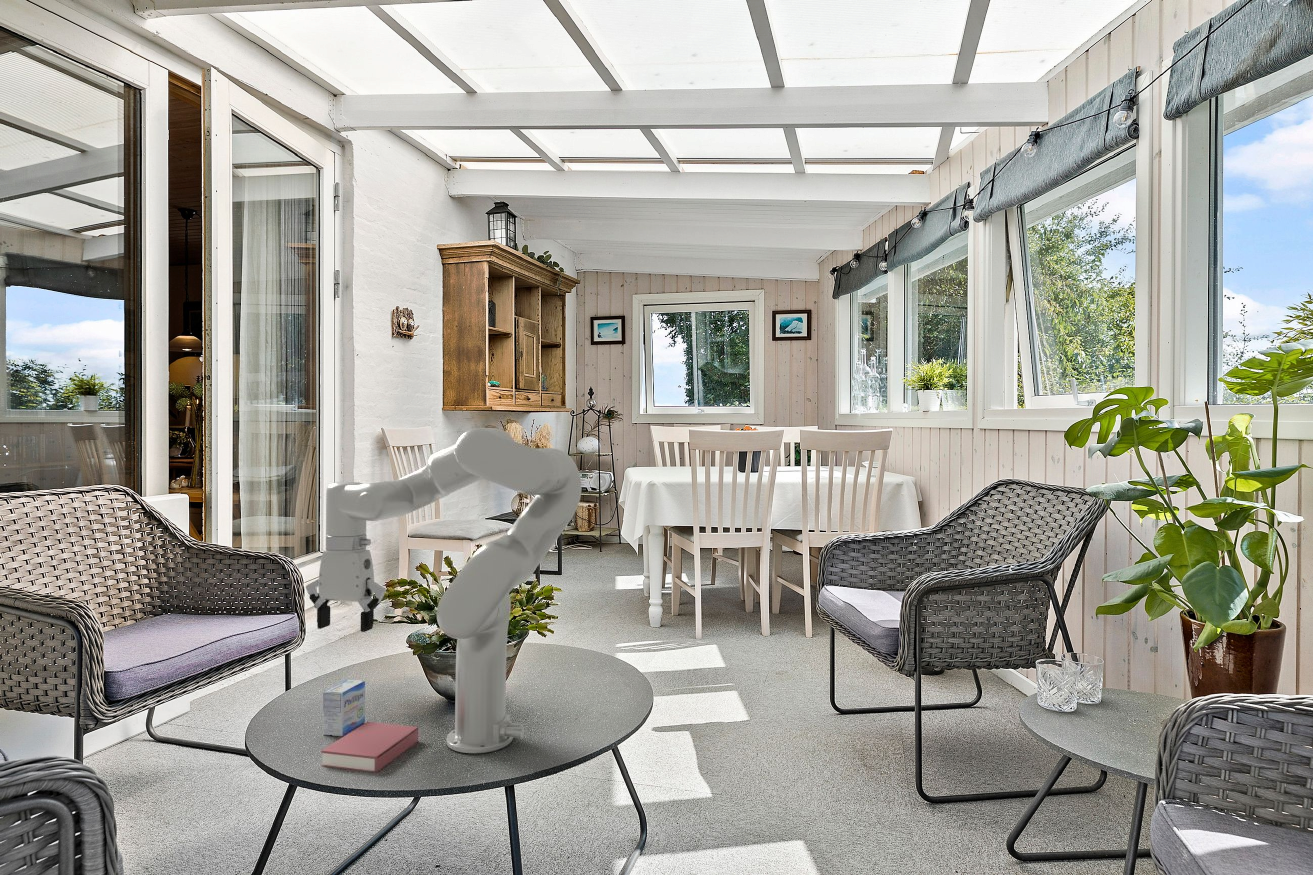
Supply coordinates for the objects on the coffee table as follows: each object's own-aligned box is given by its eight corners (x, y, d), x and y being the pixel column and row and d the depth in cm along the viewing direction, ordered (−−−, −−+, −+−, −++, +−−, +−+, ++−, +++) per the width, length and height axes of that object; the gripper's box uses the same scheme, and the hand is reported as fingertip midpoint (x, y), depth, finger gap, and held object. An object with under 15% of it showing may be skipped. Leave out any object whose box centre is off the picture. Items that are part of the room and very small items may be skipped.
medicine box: (342, 737, 147) (342, 693, 147) (321, 735, 148) (322, 691, 148) (365, 722, 155) (366, 680, 155) (346, 720, 155) (346, 678, 155)
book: (418, 742, 145) (418, 726, 145) (376, 774, 132) (376, 756, 132) (367, 736, 148) (367, 721, 148) (321, 767, 134) (321, 750, 134)
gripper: (395, 542, 153) (394, 626, 153) (320, 539, 157) (319, 621, 157) (373, 548, 146) (372, 636, 146) (295, 544, 149) (294, 630, 149)
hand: (345, 628), depth 151 cm, fingers open, 9 cm apart
